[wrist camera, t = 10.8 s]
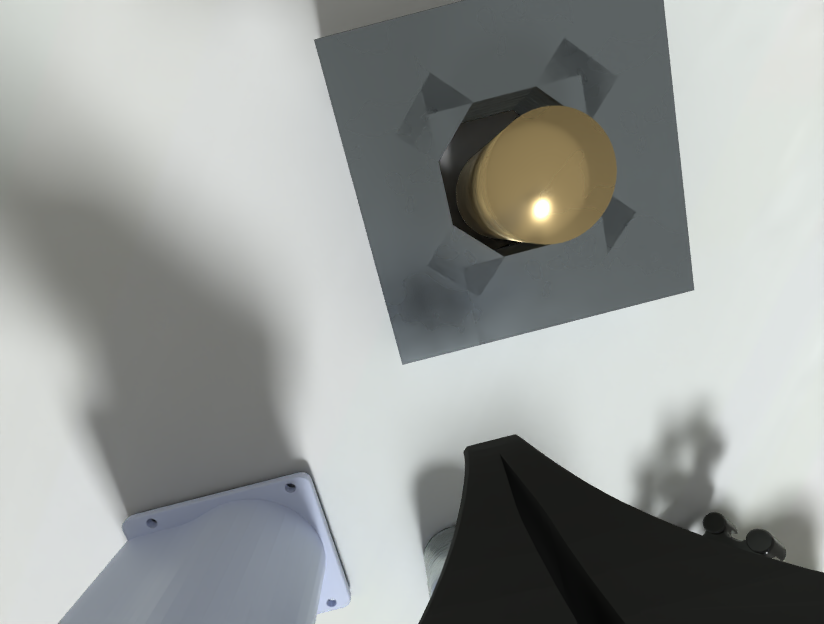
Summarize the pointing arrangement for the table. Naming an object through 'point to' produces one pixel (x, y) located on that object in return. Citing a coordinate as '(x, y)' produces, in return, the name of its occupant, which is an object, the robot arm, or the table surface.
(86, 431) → the table surface
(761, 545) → the valve
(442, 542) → the sleeve
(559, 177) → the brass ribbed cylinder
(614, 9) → the plate
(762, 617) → the robot arm
